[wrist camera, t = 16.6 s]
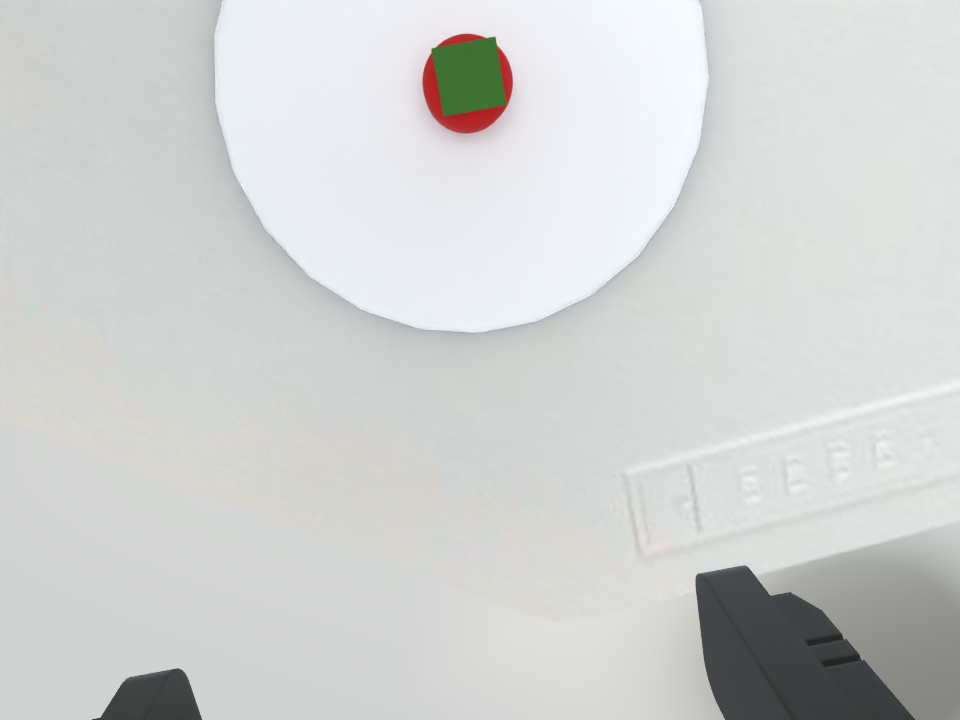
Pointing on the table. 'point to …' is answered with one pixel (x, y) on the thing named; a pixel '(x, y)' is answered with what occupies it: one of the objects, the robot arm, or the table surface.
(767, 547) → the table surface
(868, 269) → the table surface
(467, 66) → the strawberry
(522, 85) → the plate
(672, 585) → the table surface
